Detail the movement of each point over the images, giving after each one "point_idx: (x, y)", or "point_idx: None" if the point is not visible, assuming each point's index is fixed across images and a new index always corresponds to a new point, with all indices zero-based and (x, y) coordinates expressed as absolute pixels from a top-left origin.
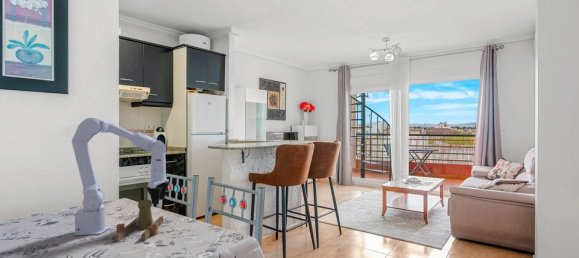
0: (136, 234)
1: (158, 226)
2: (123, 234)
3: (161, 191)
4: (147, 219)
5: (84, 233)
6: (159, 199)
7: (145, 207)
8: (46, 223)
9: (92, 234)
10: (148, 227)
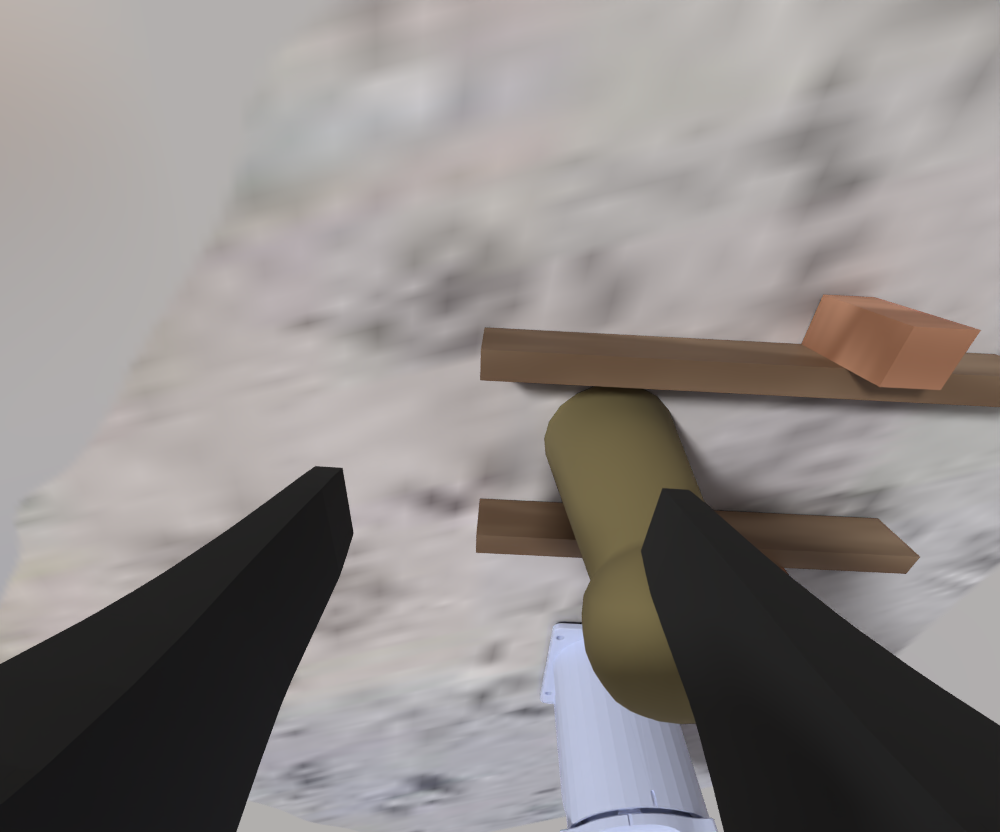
0: (767, 457)
1: (639, 337)
2: (811, 530)
3: (253, 657)
4: (688, 465)
5: None
6: (349, 531)
7: None
8: (438, 789)
9: None
10: (668, 414)
